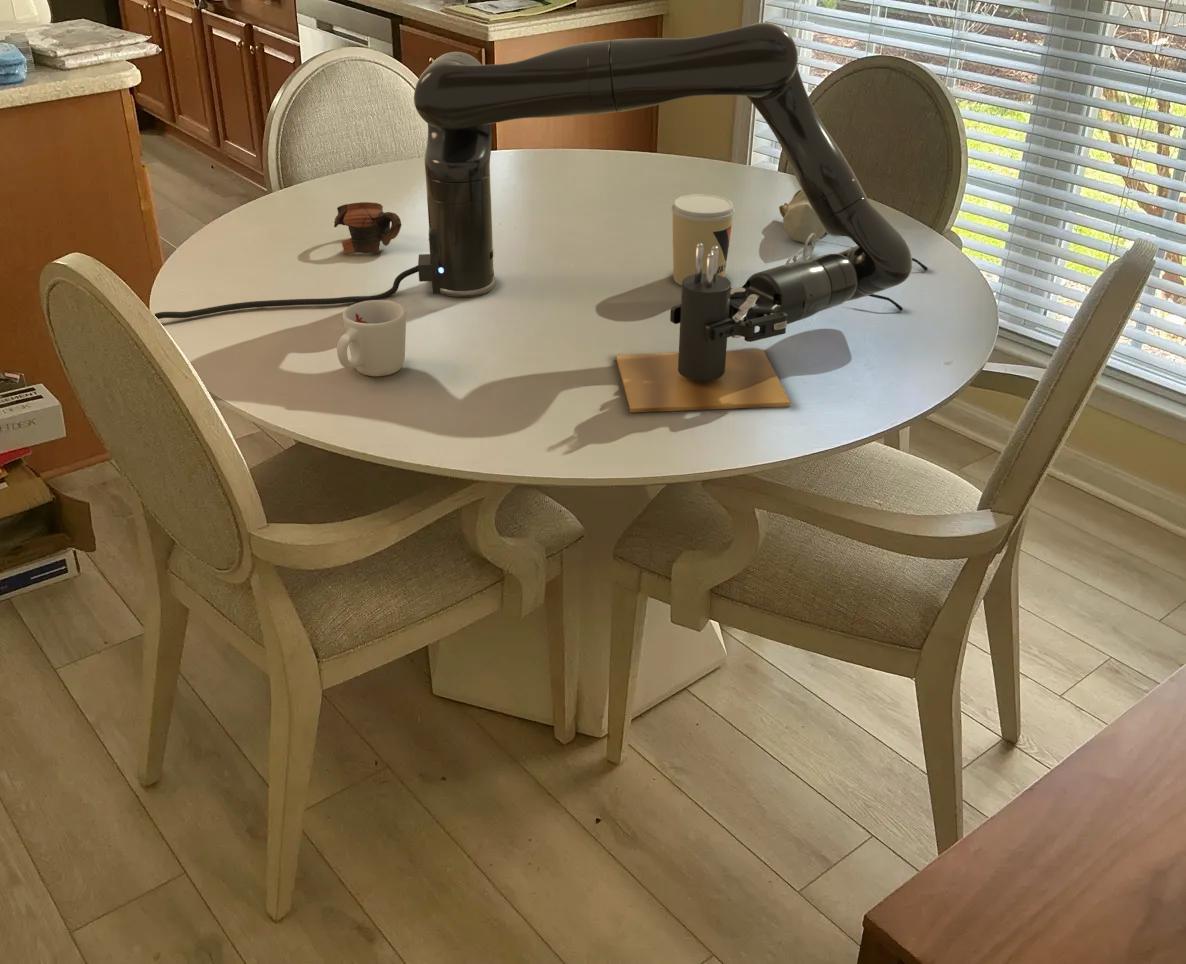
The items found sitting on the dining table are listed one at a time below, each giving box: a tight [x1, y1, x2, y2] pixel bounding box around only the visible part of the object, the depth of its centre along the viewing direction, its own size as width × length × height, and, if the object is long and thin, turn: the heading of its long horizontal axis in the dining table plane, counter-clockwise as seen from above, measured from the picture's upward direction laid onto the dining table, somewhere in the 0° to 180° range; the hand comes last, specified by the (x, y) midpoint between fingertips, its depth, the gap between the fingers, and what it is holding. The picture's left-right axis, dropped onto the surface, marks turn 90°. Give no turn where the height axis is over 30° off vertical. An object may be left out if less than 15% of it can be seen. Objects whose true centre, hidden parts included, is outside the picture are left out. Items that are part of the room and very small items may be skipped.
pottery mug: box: [333, 201, 402, 255], centre depth 187 cm, size 12×9×8 cm
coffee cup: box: [671, 193, 736, 286], centre depth 175 cm, size 9×9×12 cm
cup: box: [336, 299, 407, 377], centre depth 148 cm, size 11×8×8 cm
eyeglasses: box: [785, 233, 928, 312], centre depth 178 cm, size 18×19×4 cm
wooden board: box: [615, 349, 792, 414], centre depth 149 cm, size 20×15×1 cm
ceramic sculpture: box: [778, 188, 826, 244], centre depth 194 cm, size 11×9×15 cm
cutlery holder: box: [678, 243, 732, 381], centre depth 144 cm, size 6×6×17 cm
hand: (689, 324), depth 143 cm, fingers closed on cutlery holder, 6 cm apart
